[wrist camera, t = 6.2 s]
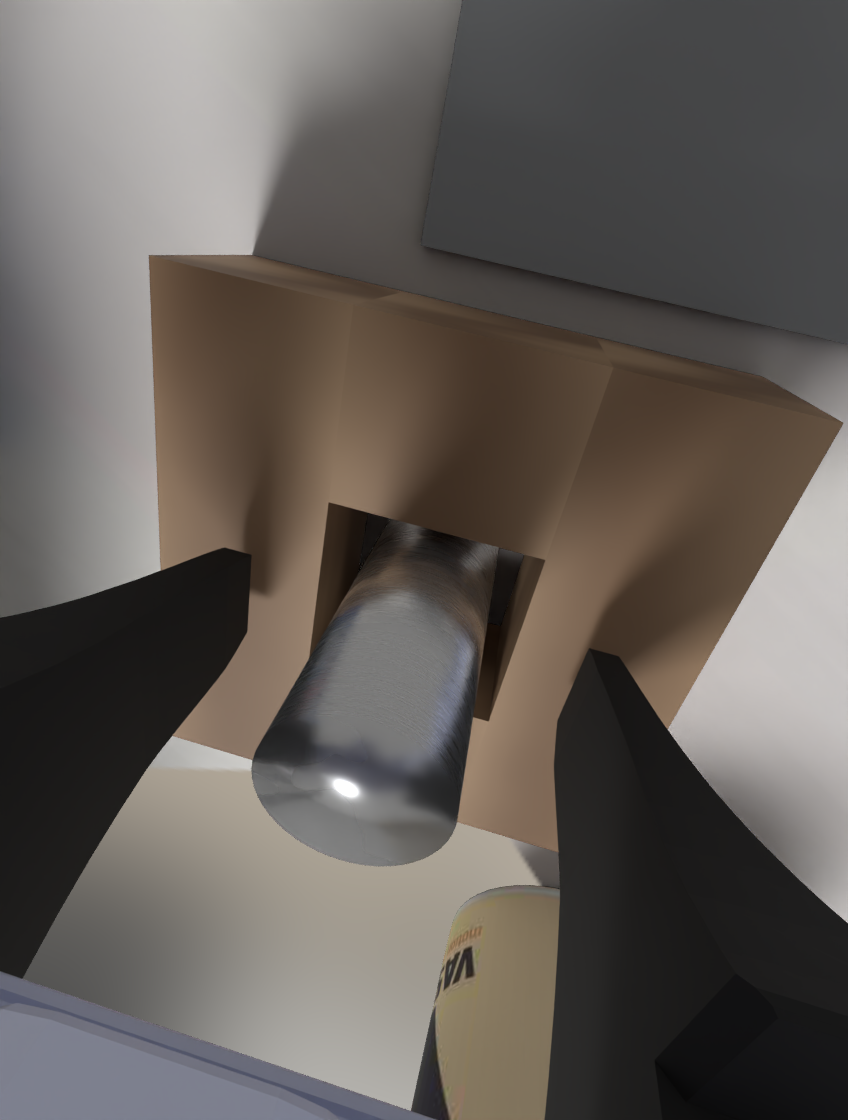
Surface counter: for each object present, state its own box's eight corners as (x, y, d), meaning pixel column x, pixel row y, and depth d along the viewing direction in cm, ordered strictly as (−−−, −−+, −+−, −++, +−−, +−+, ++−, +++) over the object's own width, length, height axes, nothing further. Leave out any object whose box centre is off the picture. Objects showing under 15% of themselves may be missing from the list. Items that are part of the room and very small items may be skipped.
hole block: (762, 377, 13) (843, 423, 9) (582, 749, 19) (590, 862, 15) (251, 254, 14) (148, 255, 10) (234, 648, 19) (166, 734, 16)
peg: (518, 501, 15) (489, 766, 7) (478, 591, 17) (420, 890, 9) (411, 462, 15) (269, 683, 7) (381, 555, 17) (238, 822, 9)
